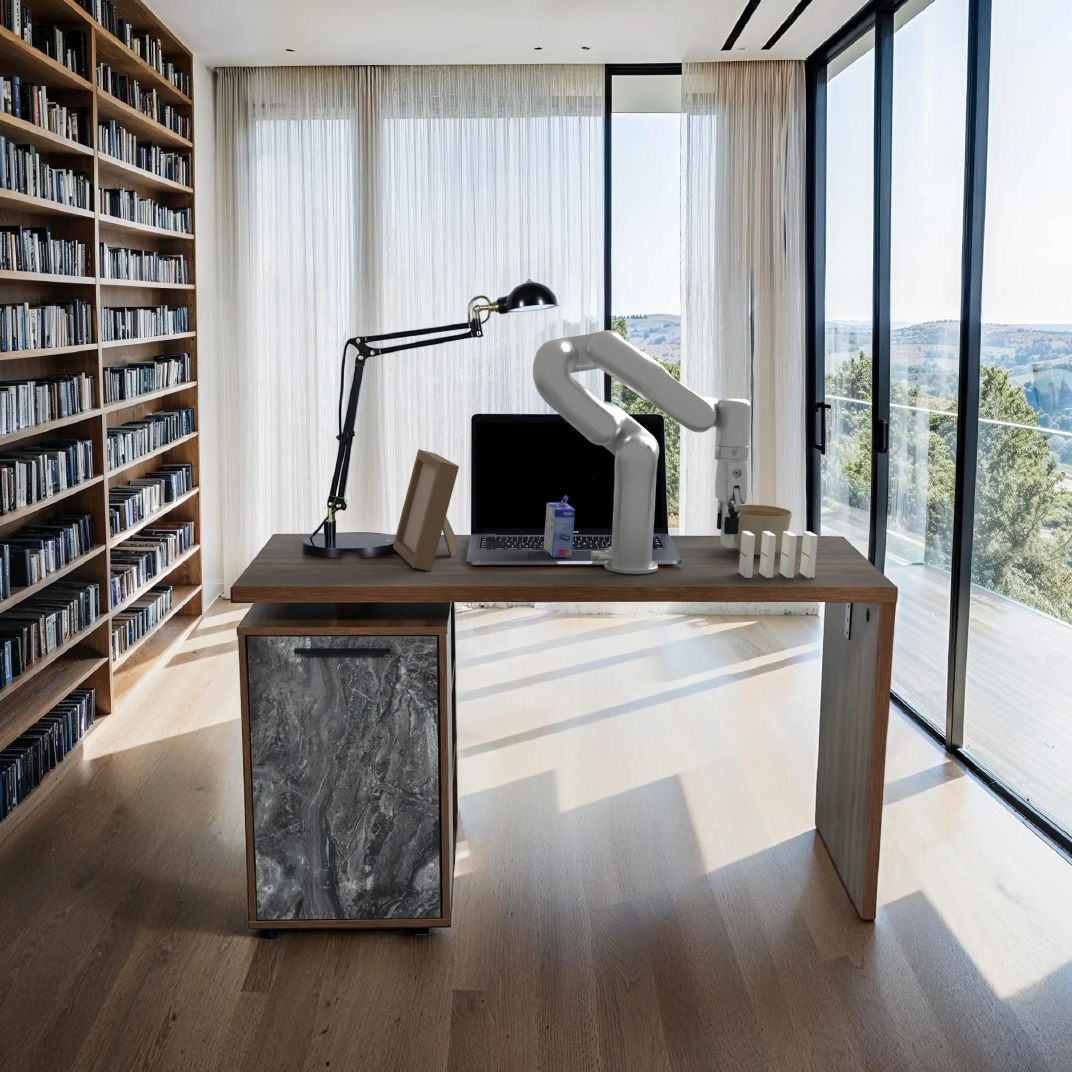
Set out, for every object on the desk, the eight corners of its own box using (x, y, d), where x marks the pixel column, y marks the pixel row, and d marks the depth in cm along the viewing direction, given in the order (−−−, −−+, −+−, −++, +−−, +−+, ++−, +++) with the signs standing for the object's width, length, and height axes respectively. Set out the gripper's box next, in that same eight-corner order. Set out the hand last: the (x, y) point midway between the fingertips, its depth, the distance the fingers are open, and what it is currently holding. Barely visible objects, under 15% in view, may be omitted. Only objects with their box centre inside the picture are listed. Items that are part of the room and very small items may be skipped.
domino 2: (745, 577, 263) (748, 535, 261) (738, 572, 268) (741, 530, 266) (752, 577, 263) (755, 535, 261) (745, 572, 268) (748, 531, 266)
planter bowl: (712, 546, 295) (715, 505, 293) (764, 543, 302) (768, 503, 299) (747, 560, 281) (750, 517, 279) (801, 556, 287) (804, 514, 285)
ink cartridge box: (573, 558, 276) (576, 499, 273) (551, 558, 275) (553, 499, 272) (564, 549, 285) (567, 492, 282) (543, 549, 284) (545, 492, 281)
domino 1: (726, 543, 266) (729, 500, 264) (733, 547, 261) (735, 504, 259) (720, 543, 265) (722, 501, 263) (726, 547, 261) (728, 504, 259)
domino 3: (766, 577, 264) (769, 535, 262) (759, 572, 268) (762, 531, 266) (772, 577, 264) (776, 535, 262) (765, 572, 269) (769, 531, 267)
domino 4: (786, 577, 264) (790, 535, 262) (779, 572, 269) (782, 531, 267) (793, 577, 264) (797, 535, 262) (786, 572, 269) (789, 531, 267)
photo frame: (413, 571, 257) (416, 461, 252) (392, 551, 277) (395, 449, 272) (476, 569, 261) (480, 462, 257) (451, 549, 282) (455, 449, 277)
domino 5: (807, 577, 265) (811, 535, 263) (799, 572, 270) (803, 531, 268) (814, 577, 265) (817, 535, 263) (806, 572, 270) (809, 531, 268)
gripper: (759, 458, 251) (754, 539, 255) (736, 448, 268) (731, 524, 271) (726, 458, 250) (722, 539, 254) (705, 448, 267) (701, 524, 270)
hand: (727, 530), depth 262 cm, fingers closed on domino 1, 4 cm apart
